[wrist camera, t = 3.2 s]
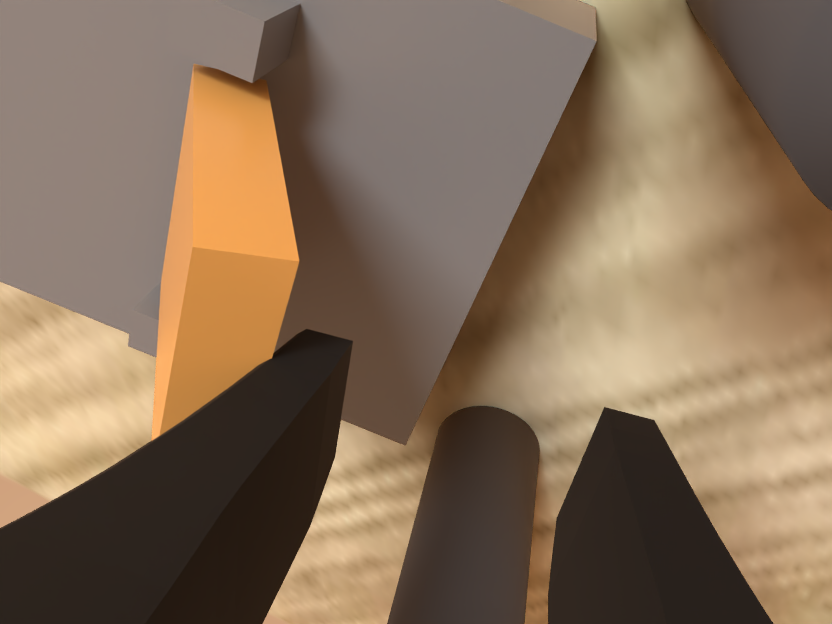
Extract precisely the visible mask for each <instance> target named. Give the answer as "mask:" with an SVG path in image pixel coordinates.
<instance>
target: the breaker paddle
mask: <svg viewBox="0 0 832 624" xmlns="http://www.w3.org/2000/svg"><path fill="white" fill-rule="evenodd" d="M298 265H299V256H298V251H297V245H296V240H295V234H294V229H293V223H292V218H291V212H290V207H289V201H288V196H287V190H286V185H285V179H284V174H283V168H282V163H281V157H280V152H279V146H278V141H277V135H276V130H275V124H274V119H273V113H272V108H271V103H270V97H269V92H268V86H267V81H266V80H263V79H258V80H256V81H255V82H253V83H251V82H248V81H246V80H243V79H241V78H238V77H236V76H234V75H231V74H229V73H226V72H224V71H221V70H219V69H215V68H211V67H206V66H202V65H198V64H193V71H192V78H191V84H190V91H189V98H188V104H187V111H186V118H185V125H184V131H183V138H182V145H181V151H180V158H179V165H178V171H177V178H176V185H175V191H174V198H173V205H172V211H171V218H170V225H169V231H168V238H167V245H166V252H165V258H164V265H163V272H162V278H161V290H160V307H159V324H158V341H157V358H156V375H155V392H154V409H153V426H152V440H154V439H155V438H157V437H158V436H160V435H161V434H163V433H165V432H166V431H168V430H169V429H171V428H172V427H174V426H175V425H177V424H178V423H180V422H181V421H183V420H184V419H185V418H187V417H188V416H190V415H191V414H192V413H194V412H195V411H197V410H198V409H199V408H201V407H202V406H204V405H205V404H206V403H208V402H209V401H211V400H212V399H213V398H215V397H216V396H218V395H219V394H220V393H222V392H223V391H225V390H226V389H227V388H229V387H230V386H232V385H233V384H234V383H235V382H237V381H238V380H239V379H241V378H242V377H243V376H245V375H246V374H247V373H249V372H250V371H251V370H253V369H254V368H255V367H256V366H258V365H260V364H261V363H263V362H265V361H267V360H269V359H272V357H273V353H274V350H275V346H276V343H277V339H278V336H279V332H280V328H281V325H282V321H283V318H284V314H285V311H286V307H287V304H288V300H289V297H290V293H291V290H292V286H293V283H294V279H295V275H296V272H297V268H298Z"/></svg>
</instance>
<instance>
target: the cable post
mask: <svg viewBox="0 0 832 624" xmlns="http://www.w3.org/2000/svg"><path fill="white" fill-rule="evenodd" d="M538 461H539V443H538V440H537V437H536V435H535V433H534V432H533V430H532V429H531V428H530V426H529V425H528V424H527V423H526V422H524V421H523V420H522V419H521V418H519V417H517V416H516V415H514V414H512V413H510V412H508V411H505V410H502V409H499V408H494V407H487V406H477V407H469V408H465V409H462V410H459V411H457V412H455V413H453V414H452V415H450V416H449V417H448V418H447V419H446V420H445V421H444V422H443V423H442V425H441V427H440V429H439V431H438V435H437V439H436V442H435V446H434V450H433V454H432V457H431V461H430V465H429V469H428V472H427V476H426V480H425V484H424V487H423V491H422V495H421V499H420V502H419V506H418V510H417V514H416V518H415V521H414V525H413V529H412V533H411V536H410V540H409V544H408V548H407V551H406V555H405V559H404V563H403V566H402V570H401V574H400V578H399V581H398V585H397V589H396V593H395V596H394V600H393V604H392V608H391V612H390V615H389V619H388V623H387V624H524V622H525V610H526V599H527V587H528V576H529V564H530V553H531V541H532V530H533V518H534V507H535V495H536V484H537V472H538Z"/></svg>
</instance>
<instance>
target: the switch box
mask: <svg viewBox="0 0 832 624" xmlns="http://www.w3.org/2000/svg"><path fill="white" fill-rule="evenodd" d="M596 41H597V36H596V8H595V7H593V6H590V5H588V4H586V3H583V2H581V1H578V0H0V282H3V283H5V284H7V285H10V286H12V287H15V288H17V289H20V290H22V291H25V292H27V293H30V294H32V295H35V296H37V297H40V298H42V299H45V300H47V301H49V302H52V303H54V304H57V305H59V306H62V307H64V308H67V309H69V310H72V311H74V312H77V313H79V314H82V315H84V316H87V317H89V318H92V319H94V320H96V321H99V322H101V323H104V324H106V325H109V326H111V327H114V328H116V329H119V330H121V331H124V332H126V333H129V342H128V346H129V347H132V348H134V349H137V350H139V351H142V352H144V353H147V354H149V355H152V356H154V357H157V341H158V324H159V307H160V290H161V278H162V272H163V265H164V258H165V252H166V245H167V238H168V231H169V225H170V218H171V211H172V205H173V198H174V191H175V185H176V178H177V171H178V165H179V158H180V151H181V145H182V138H183V131H184V125H185V118H186V111H187V104H188V98H189V91H190V84H191V78H192V71H193V64H198V65H202V66H206V67H211V68H215V69H219V70H221V71H224V72H226V73H229V74H231V75H234V76H236V77H238V78H241V79H243V80H246V81H248V82H251V83H253V82H255V81H256V80H258V79H263V80H266V81H267V86H268V92H269V97H270V103H271V108H272V113H273V119H274V124H275V130H276V135H277V141H278V146H279V152H280V157H281V163H282V168H283V174H284V179H285V185H286V190H287V196H288V201H289V207H290V212H291V218H292V223H293V229H294V234H295V240H296V245H297V251H298V256H299V265H298V268H297V272H296V275H295V279H294V283H293V286H292V290H291V293H290V297H289V300H288V304H287V307H286V311H285V314H284V318H283V321H282V325H281V328H280V332H279V336H278V339H277V343H276V346H275V350H274V352H275V351H277V350H278V349H279V348H280V347H282V346H283V345H284V344H285V343H287V342H288V341H289V340H290V339H291V338H293V337H294V336H295V335H296V334H298V333H300V332H301V331H303V330H305V329H310V330H314V331H317V332H321V333H325V334H329V335H333V336H336V337H340V338H344V339H348V340H352V341H353V345H352V351H351V358H350V364H349V370H348V377H347V383H346V390H345V396H344V402H343V409H342V415H341V420H344V421H346V422H349V423H351V424H354V425H356V426H358V427H361V428H363V429H366V430H368V431H371V432H373V433H376V434H378V435H381V436H383V437H386V438H388V439H391V440H393V441H396V442H398V443H401V444H403V445H406V443H407V441H408V439H409V437H410V435H411V433H412V430H413V428H414V426H415V424H416V422H417V420H418V418H419V416H420V414H421V411H422V409H423V407H424V405H425V403H426V401H427V399H428V397H429V394H430V392H431V390H432V388H433V386H434V384H435V382H436V380H437V378H438V375H439V373H440V371H441V369H442V367H443V365H444V363H445V361H446V359H447V356H448V354H449V352H450V350H451V348H452V346H453V344H454V342H455V340H456V337H457V335H458V333H459V331H460V329H461V327H462V325H463V323H464V320H465V318H466V316H467V314H468V312H469V310H470V308H471V306H472V304H473V301H474V299H475V297H476V295H477V293H478V291H479V289H480V287H481V285H482V282H483V280H484V278H485V276H486V274H487V272H488V270H489V268H490V266H491V263H492V261H493V259H494V257H495V255H496V253H497V251H498V249H499V246H500V244H501V242H502V240H503V238H504V236H505V234H506V232H507V230H508V227H509V225H510V223H511V221H512V219H513V217H514V215H515V213H516V211H517V208H518V206H519V204H520V202H521V200H522V198H523V196H524V194H525V192H526V189H527V187H528V185H529V183H530V181H531V179H532V177H533V175H534V173H535V170H536V168H537V166H538V164H539V162H540V160H541V158H542V156H543V153H544V151H545V149H546V147H547V145H548V143H549V141H550V139H551V137H552V134H553V132H554V130H555V128H556V126H557V124H558V122H559V120H560V118H561V115H562V113H563V111H564V109H565V107H566V105H567V103H568V101H569V99H570V96H571V94H572V92H573V90H574V88H575V86H576V84H577V82H578V79H579V77H580V75H581V73H582V71H583V69H584V67H585V65H586V63H587V60H588V58H589V56H590V54H591V52H592V50H593V48H594V46H595V44H596Z"/></svg>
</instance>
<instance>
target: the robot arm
mask: <svg viewBox="0 0 832 624" xmlns="http://www.w3.org/2000/svg"><path fill="white" fill-rule="evenodd" d="M352 345H353V341H352V340H348V339H344V338H340V337H336V336H333V335H329V334H325V333H321V332H317V331H314V330H310V329H305V330H303V331H301V332H300V333H298V334H296V335H295V336H294V337H293V338H291V339H290V340H289V341H288V342H287V343H285V344H284V345H283V346H282V347H280V348H279V349H278V350H277V351H275V352H274V353H273V357H272V359H269V360H267V361H265V362H263V363H261V364H260V365H258V366H256V367H255V368H254V369H253V370H251V371H250V372H249V373H247V374H246V375H245V376H243V377H242V378H241V379H239V380H238V381H237V382H235V383H234V384H233V385H232V386H230V387H229V388H227V389H226V390H225V391H223V392H222V393H220V394H219V395H218V396H216V397H215V398H213V399H212V400H211V401H209V402H208V403H206V404H205V405H204V406H202V407H201V408H199V409H198V410H197V411H195V412H194V413H192V414H191V415H190V416H188V417H187V418H185V419H184V420H183V421H181V422H180V423H178V424H177V425H175V426H174V427H172V428H171V429H169V430H168V431H166V432H165V433H163V434H161V435H160V436H158V437H157V438H155V439H154V440H152V441H151V442H149V443H147V444H146V445H144V446H143V447H141V448H140V449H138V450H136V451H135V452H133V453H132V454H130V455H129V456H127V457H126V458H124V459H122V460H121V461H119V462H118V463H116V464H115V465H113V466H111V467H110V468H108V469H106V470H105V471H103V472H101V473H100V474H98V475H96V476H95V477H93V478H91V479H89V480H88V481H86V482H84V483H83V484H81V485H79V486H77V487H76V488H74V489H72V490H70V491H69V492H67V493H65V494H63V495H62V496H60V497H58V498H56V499H54V500H52V501H51V502H49V503H47V504H45V505H43V506H41V507H39V508H38V509H36V510H34V511H32V512H30V513H28V514H26V515H25V516H23V517H21V518H19V519H17V520H16V521H13V522H11V523H9V524H7V525H5V526H4V527H1V528H0V624H262V623H263V621H264V619H265V617H266V615H267V613H268V611H269V609H270V607H271V605H272V603H273V601H274V599H275V597H276V595H277V593H278V591H279V589H280V587H281V585H282V583H283V581H284V579H285V577H286V575H287V573H288V571H289V569H290V567H291V564H292V562H293V560H294V558H295V556H296V554H297V552H298V550H299V548H300V546H301V544H302V542H303V540H304V538H305V536H306V534H307V532H308V529H309V527H310V525H311V522H312V519H313V517H314V514H315V511H316V509H317V506H318V503H319V500H320V498H321V495H322V492H323V489H324V486H325V484H326V481H327V478H328V475H329V472H330V469H331V467H332V464H333V461H334V458H335V453H336V447H337V440H338V434H339V428H340V421H341V415H342V409H343V402H344V396H345V390H346V383H347V377H348V370H349V364H350V358H351V351H352ZM548 624H773V622H772V621H771V619H770V618H769V616H768V615H767V613H766V612H765V610H764V609H763V607H762V606H761V604H760V602H759V601H758V599H757V598H756V596H755V595H754V593H753V591H752V590H751V588H750V587H749V585H748V583H747V582H746V580H745V579H744V577H743V575H742V574H741V572H740V570H739V569H738V567H737V565H736V564H735V562H734V560H733V559H732V557H731V555H730V554H729V552H728V550H727V549H726V547H725V545H724V544H723V542H722V540H721V539H720V537H719V535H718V534H717V532H716V530H715V528H714V527H713V525H712V523H711V521H710V520H709V518H708V516H707V514H706V513H705V511H704V509H703V507H702V505H701V504H700V502H699V500H698V498H697V497H696V495H695V493H694V491H693V489H692V488H691V486H690V484H689V482H688V480H687V479H686V477H685V475H684V473H683V471H682V469H681V468H680V466H679V464H678V462H677V460H676V459H675V457H674V455H673V453H672V451H671V450H670V448H669V446H668V444H667V442H666V440H665V439H664V437H663V435H662V433H661V432H660V430H659V428H658V426H657V424H656V423H655V421H654V420H651V419H648V418H644V417H640V416H636V415H632V414H629V413H625V412H621V411H617V410H613V409H610V408H606V407H604V410H603V412H602V414H601V416H600V419H599V421H598V423H597V426H596V428H595V430H594V433H593V435H592V437H591V440H590V442H589V444H588V447H587V449H586V451H585V454H584V456H583V458H582V461H581V463H580V465H579V468H578V470H577V472H576V475H575V477H574V479H573V482H572V484H571V486H570V489H569V491H568V493H567V496H566V498H565V500H564V503H563V505H562V507H561V510H560V512H559V514H558V517H557V521H556V529H555V537H554V546H553V554H552V563H551V573H550V583H549V592H548Z"/></svg>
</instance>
